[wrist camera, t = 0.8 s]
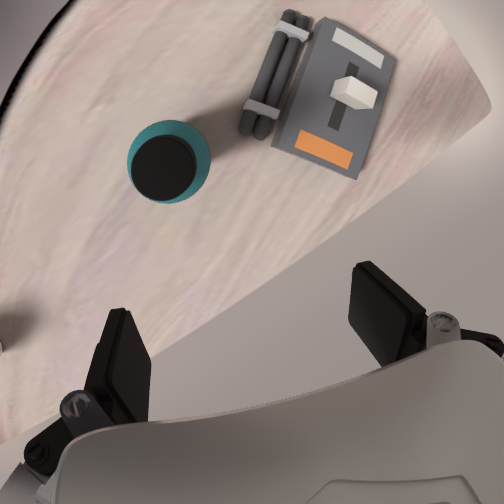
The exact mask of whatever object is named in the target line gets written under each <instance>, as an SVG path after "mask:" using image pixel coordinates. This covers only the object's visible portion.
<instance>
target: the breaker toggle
mask: <svg viewBox="0 0 504 504" xmlns="http://www.w3.org/2000/svg"><path fill="white" fill-rule="evenodd" d="M377 93H378V92H377V91H376V90H374V89H373V88H371V87H369V86H368V85H366V84H364V83H363V82H361V81H359V80H358V79H356V78H354V77H352V76H349V77H345V78H342V79H338V80H335V82H334V85H333V88H332V91H331V94H330V96H331V97H333V98H335V99H337V100H339V101H340V102H342V103H344V104H346V105H348V106H350V107H352V108H354V109H355V110H356V109H372V108H373V106H374V103H375V99H376V96H377Z"/></svg>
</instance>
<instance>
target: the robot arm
mask: <svg viewBox="0 0 504 504" xmlns="http://www.w3.org/2000/svg"><path fill="white" fill-rule="evenodd" d="M425 313H426V309H425V308H423V307H422V306H421V305H420V304H419V303H418V302H417V301H416V300H415V299H414V298H412V297H411V296H410V295H409V294H408V293H407V292H406V291H405V290H403V289H402V288H401V287H400V286H399V285H398V284H396V283H395V282H394V281H393V280H392V279H391V278H390V277H388V276H387V275H386V274H385V273H384V272H383V271H382V270H380V269H379V268H378V267H377V266H376V265H374V264H373V263H372V262H371V261H365V262H360V263H357V264H356V267H354V268H353V272H352V284H351V295H350V305H349V315H348V320H349V323H350V325H351V326H352V327H353V329H354V330H355V332H356V333H357V334H358V336H359V337H360V338H361V340H362V341H363V342H364V343H365V345H366V346H367V348H368V349H369V350H370V352H371V353H372V354H373V356H374V357H375V359H376V360H377V361H378V363H379V364H380V365H381V368H379V369H376V370H373V371H371V372H368V373H366V374H363V375H360V376H358V377H354V378H352V379H349V380H346V381H343V382H340V383H337V384H334V385H330V386H327V387H324V388H321V389H318V390H314V391H311V392H307V393H304V394H300V395H297V396H293V397H289V398H285V399H281V400H278V401H274V402H269V403H265V404H260V405H256V406H251V407H246V408H241V409H236V410H231V411H225V412H220V413H214V414H207V415H201V416H193V417H186V418H178V419H170V420H161V421H151V422H148V408H149V390H150V376H151V360H150V357H149V355H148V353H147V350H146V348H145V346H144V344H143V341H142V339H141V337H140V334H139V332H138V329H137V327H136V325H135V322H134V320H133V317H132V315H131V312H130V311H129V310H128V311H126V309H125V308H117V309H111V310H110V312H109V315H108V318H107V321H106V324H105V327H104V330H103V333H102V336H101V339H100V342H99V343H98V344H97V346H96V349H95V352H94V355H93V358H92V362H91V365H90V368H89V372H88V375H87V379H86V383H85V386H84V390H75V391H72V392H70V393H69V394H67V395H66V396H65V397H64V398H63V400H62V401H61V404H60V410H59V411H60V414H61V416H62V417H61V418H59V419H58V420H57V421H55V422H54V423H53V424H51V425H50V426H49V427H47V428H46V429H45V430H43V431H42V432H41V433H39V434H38V435H37V436H35V437H34V438H33V439H32V440H30V441H29V442H28V443H27V445H26V447H25V450H24V459H25V462H24V464H22V463H21V462H20V463H19V464H18V466H17V467H16V468H15V470H14V471H13V473H12V474H11V475H10V477H9V478H8V480H7V481H6V482H5V484H4V485H3V487H2V488H1V490H0V504H504V344H503V342H502V341H501V340H500V339H499V338H498V337H497V336H495V335H492V334H487V333H481V332H476V331H471V330H465V329H460V326H459V322H458V320H457V319H456V318H455V317H454V316H453V315H451V314H449V313H446V312H434V313H432V314H430V315H429V316H427V315H426V314H425Z"/></svg>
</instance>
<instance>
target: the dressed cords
mask: <svg viewBox="0 0 504 504" xmlns="http://www.w3.org/2000/svg"><path fill="white" fill-rule="evenodd" d="M294 18H295V12H294V11H293V10H290V9H288V10H285V11H284V13H283V15H282V18H281V20H280V22H279V23H278V24H277V25H276V26H275V28H274V31H273V33H274V37H273V39H272V41H271V44H270V46H269V49H268V51H267V54H266V56H265V59H264V61H263V64H262V66H261V69H260V71H259V74H258V77H257V79H256V82H255V84H254V87H253V90H252V92H251V95H250V98H249V99H248V100H247V101H246V102H245V104H244V107H243V110H245V111H244V114H243V117H242V120H241V123H240V125H239V132H240V134H242V135H248V134H250V133H251V131H252V128H253V125H254V122H255V119H256V116H257V115H260V117H259V120H258V123H257V125H256V128H255V131H254V137H255V139H257V140H264V139H265V138H266V136H267V133H268V130H269V127H270V124H271V122H272V120H275V119H277V118H278V116H279V113H280V110H278V109H276V108H277V105H278V102H279V100H280V97H281V94H282V91H283V89H284V86H285V83H286V81H287V78H288V75H289V72H290V70H291V67H292V64H293V62H294V59H295V57H296V54H297V51H298V49H299V46H300V44H301V43H302V42H304V41H305V40H307V37H308V35H309V32H307V31H306V28H307V25H308V23H309V19H308V17H307V16H304V15H301V16H299V17H298V18H297V20H296V23H295V25H294V26H293V25H292V23H293V20H294ZM286 38H287V39H289V40H288V43H287V45H286V48H285V50H284V53H283V56H282V58H281V61H280V63H279V66H278V68H277V71H276V74H275V76H274V79H273V82H272V84H271V87H270V90H269V92H268V95H267V98H266V100H265V103H264V104H262V100H263V97H264V95H265V92H266V89H267V87H268V84H269V81H270V79H271V76H272V73H273V71H274V68H275V66H276V63H277V60H278V58H279V55H280V53H281V50H282V48H283V45H284V43H285V40H286Z"/></svg>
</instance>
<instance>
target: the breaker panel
mask: <svg viewBox="0 0 504 504" xmlns="http://www.w3.org/2000/svg"><path fill="white" fill-rule="evenodd" d="M394 62H395V59H394V58H393V57H391V56H390V55H388V54H387V53H386V52H384V51H383V50H381V49H380V48H378V47H377V46H375V45H374V44H372V43H370V42H369V41H367V40H366V39H364V38H362V37H361V36H359V35H357V34H356V33H354V32H352V31H351V30H349V29H347V28H345V27H344V26H342V25H340V24H338V23H336V22H334V21H332V20H331V19H329V18H327V17H324V18H322V19H321V20H319V21H318V22H317V23H316V24H315V27H314V29H313V32H312V35H311V37H310V40H309V43H308V45H307V48H306V50H305V53H304V56H303V58H302V61H301V64H300V67H299V69H298V72H297V75H296V77H295V80H294V83H293V86H292V88H291V91H290V94H289V96H288V99H287V102H286V105H285V107H284V110H283V113H282V116H281V119H280V121H279V124H278V127H277V130H276V133H275V135H274V138H273V141H272V144H271V147H273V148H276V149H279V150H282V151H284V152H287V153H290V154H292V155H295V156H298V157H300V158H303V159H305V160H308V161H310V162H313V163H315V164H318V165H320V166H323V167H325V168H327V169H330V170H332V171H334V172H337V173H339V174H341V175H344V176H346V177H349V178H352V179H355V180H357V178H358V175H359V172H360V170H361V167H362V164H363V161H364V158H365V156H366V153H367V150H368V147H369V144H370V141H371V138H372V135H373V132H374V129H375V126H376V123H377V120H378V117H379V113H380V110H381V107H382V104H383V101H384V97H385V94H386V90H387V87H388V84H389V80H390V77H391V73H392V69H393V66H394ZM349 76H352V77H354V78H356V79H358V80H359V81H361V82H363V83H364V84H366V85H368V86H369V87H371V88H373V89H374V90H376V91H377V92H378V93H377V96H376V99H375V103H374V106H373V108H372V109H356V110H355V109H354V108H352V107H350V106H348V105H346V104H344V103H342V102H340V101H339V100H337V99H335V98H333V97H331V96H330V94H331V91H332V88H333V85H334V82H335V80H338V79H342V78H345V77H349Z"/></svg>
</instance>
